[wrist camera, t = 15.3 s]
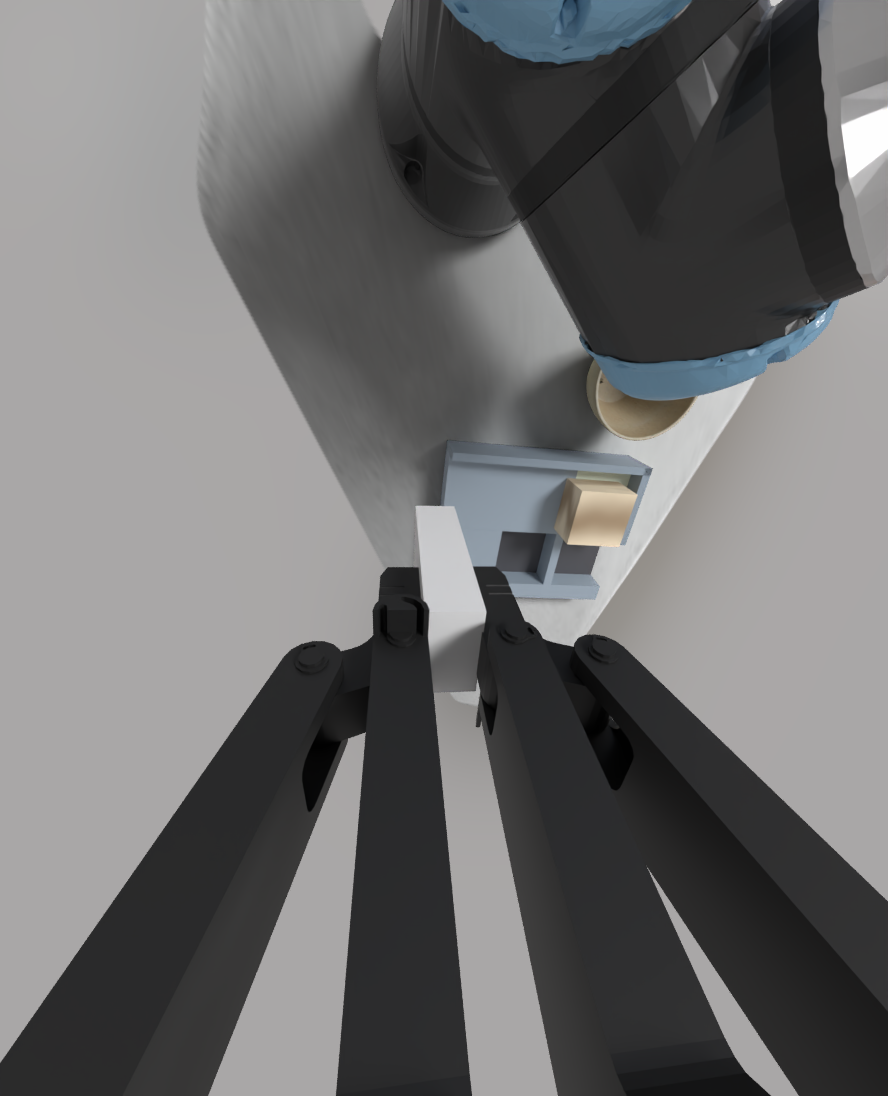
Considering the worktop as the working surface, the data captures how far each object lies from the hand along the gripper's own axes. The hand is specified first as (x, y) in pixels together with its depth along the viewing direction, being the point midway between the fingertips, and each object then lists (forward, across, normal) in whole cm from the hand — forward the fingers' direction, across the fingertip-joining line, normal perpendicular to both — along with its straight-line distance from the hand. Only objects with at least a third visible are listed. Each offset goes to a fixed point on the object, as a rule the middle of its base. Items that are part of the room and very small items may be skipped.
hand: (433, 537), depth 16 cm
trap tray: (+29, +14, -12) cm, 34 cm away
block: (+26, +20, -9) cm, 34 cm away
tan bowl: (+29, +21, +4) cm, 36 cm away
